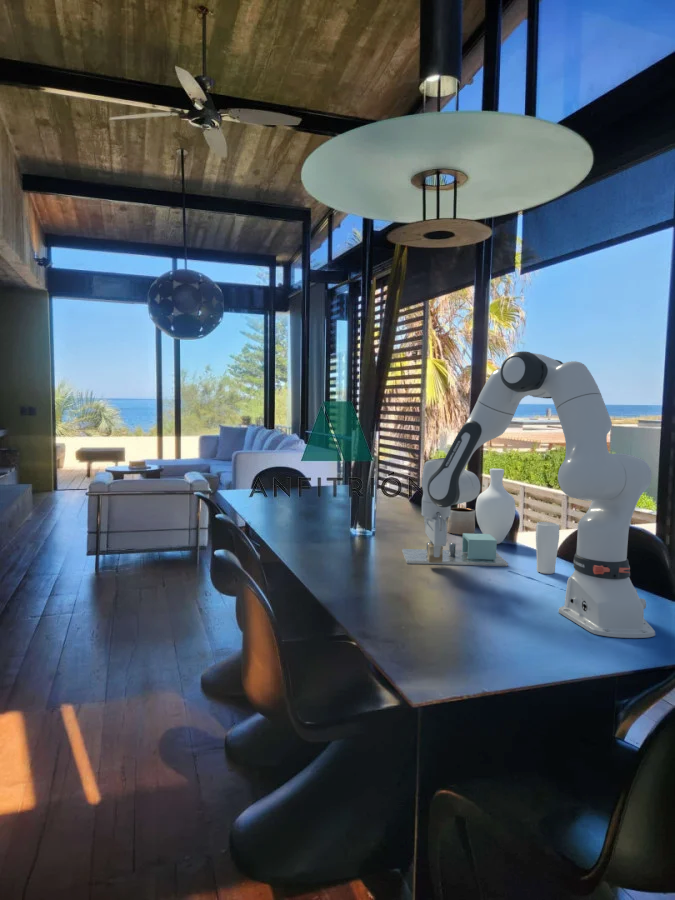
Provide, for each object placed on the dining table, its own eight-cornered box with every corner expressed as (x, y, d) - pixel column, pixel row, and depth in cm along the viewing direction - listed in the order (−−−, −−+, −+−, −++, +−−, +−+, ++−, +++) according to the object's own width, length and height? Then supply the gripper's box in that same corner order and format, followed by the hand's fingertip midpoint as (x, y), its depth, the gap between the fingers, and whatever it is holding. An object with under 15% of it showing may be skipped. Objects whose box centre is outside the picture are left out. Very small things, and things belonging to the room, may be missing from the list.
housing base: (507, 566, 186) (508, 550, 186) (406, 563, 187) (407, 547, 186) (495, 554, 202) (495, 539, 202) (402, 551, 202) (402, 537, 202)
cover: (496, 559, 189) (496, 540, 188) (468, 558, 189) (468, 539, 189) (488, 552, 199) (489, 534, 198) (462, 551, 199) (462, 533, 199)
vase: (499, 538, 229) (502, 467, 227) (522, 546, 215) (525, 470, 214) (467, 540, 224) (469, 467, 223) (488, 548, 211) (491, 470, 209)
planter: (477, 536, 232) (478, 512, 232) (449, 535, 233) (450, 511, 232) (471, 530, 243) (472, 507, 243) (445, 530, 243) (445, 507, 243)
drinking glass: (559, 576, 176) (561, 526, 175) (535, 574, 177) (537, 525, 176) (555, 570, 182) (557, 522, 181) (532, 568, 184) (534, 521, 183)
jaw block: (442, 562, 180) (442, 546, 179) (429, 562, 180) (429, 546, 179) (440, 559, 184) (440, 543, 183) (427, 559, 184) (427, 543, 183)
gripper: (452, 515, 170) (451, 562, 171) (440, 506, 191) (440, 548, 192) (430, 515, 171) (429, 562, 171) (421, 505, 191) (420, 547, 192)
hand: (435, 554), depth 182 cm, fingers closed on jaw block, 4 cm apart
